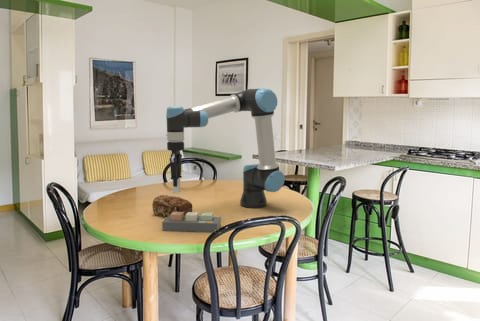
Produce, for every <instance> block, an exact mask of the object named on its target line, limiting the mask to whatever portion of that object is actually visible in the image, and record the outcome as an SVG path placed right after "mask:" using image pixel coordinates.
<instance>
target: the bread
mask: <svg viewBox="0 0 480 321" xmlns="http://www.w3.org/2000/svg"><path fill="white" fill-rule="evenodd" d="M172 212H184V216H185V215H186V214H187V213H188V212H193V203H191V201H189V199H185V198H182V197H179V196H173V195H171V196H170V195H168V194H167V195H164V194H162V195H158V196H157V197H155V198H154V199H153V200H152V213H153V215H155V216H158V217H161V218H165V217H166V218H167V217H168V215H170V214H171V213H172ZM166 218H165V219H166Z"/></svg>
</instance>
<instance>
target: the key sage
mask: <svg viewBox="0 0 480 321" xmlns="http://www.w3.org/2000/svg"><path fill="white" fill-rule="evenodd" d="M200 216H201V221H206V222H207V221H213V217H214V212H202V213H201V215H200Z"/></svg>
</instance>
